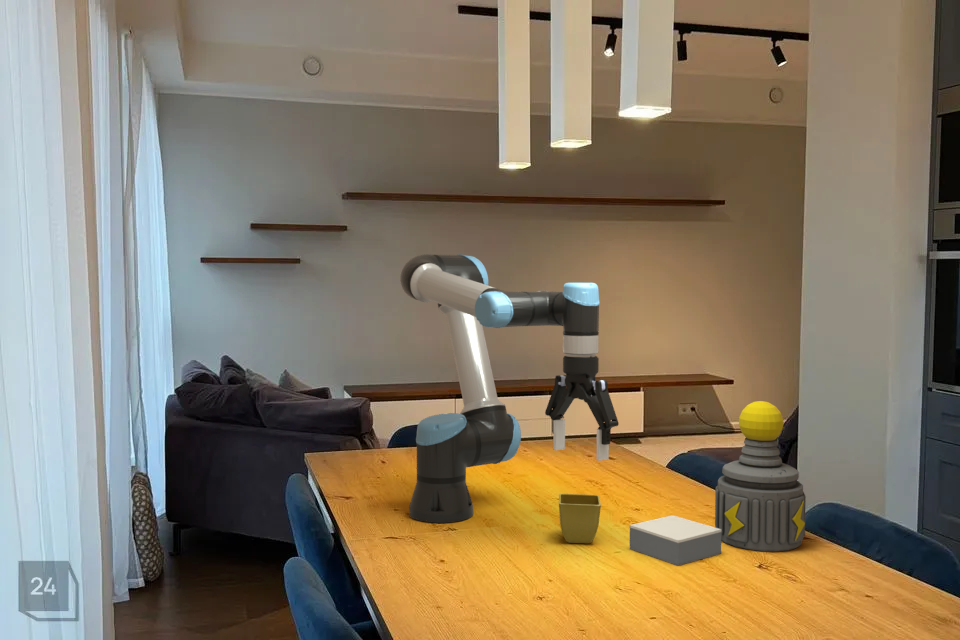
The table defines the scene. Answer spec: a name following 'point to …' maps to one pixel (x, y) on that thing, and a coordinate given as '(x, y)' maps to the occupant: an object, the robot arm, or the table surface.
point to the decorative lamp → (760, 489)
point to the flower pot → (579, 517)
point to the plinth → (675, 539)
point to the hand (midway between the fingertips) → (580, 454)
